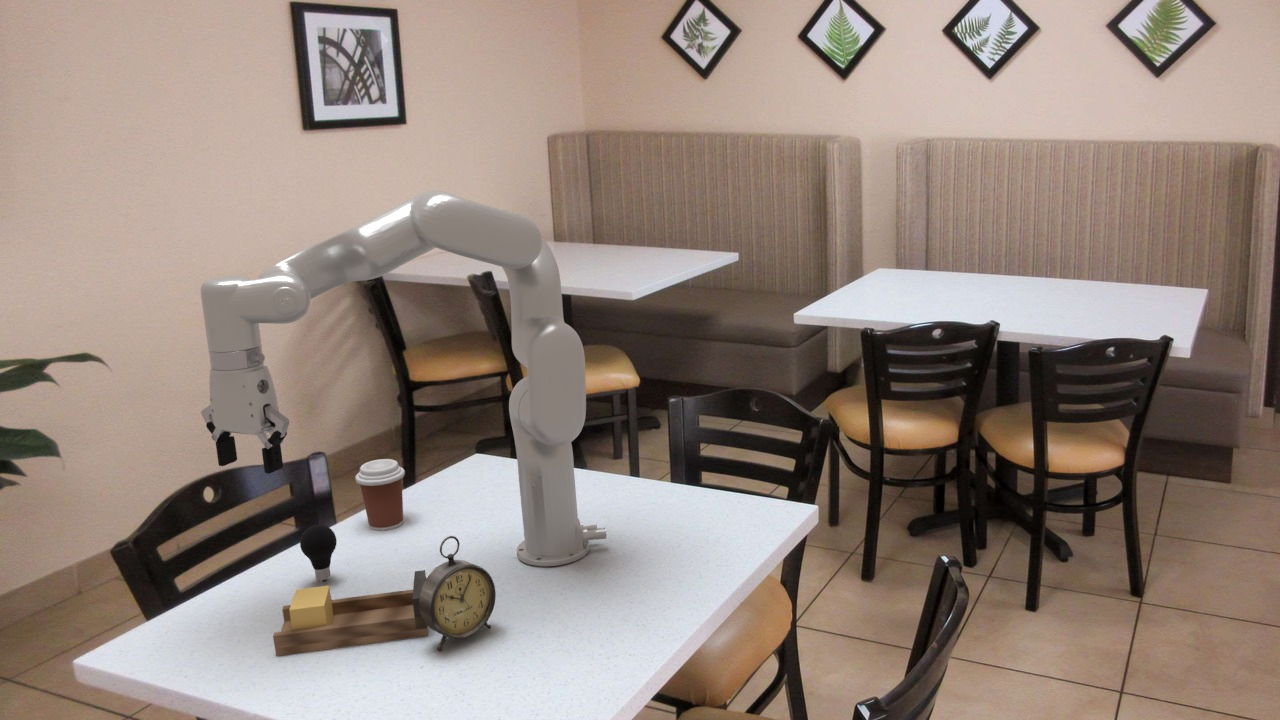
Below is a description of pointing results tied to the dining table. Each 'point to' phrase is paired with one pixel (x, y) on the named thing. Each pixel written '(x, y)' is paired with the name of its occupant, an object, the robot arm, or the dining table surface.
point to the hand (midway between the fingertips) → (250, 467)
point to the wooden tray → (359, 622)
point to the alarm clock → (457, 598)
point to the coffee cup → (382, 493)
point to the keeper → (311, 608)
